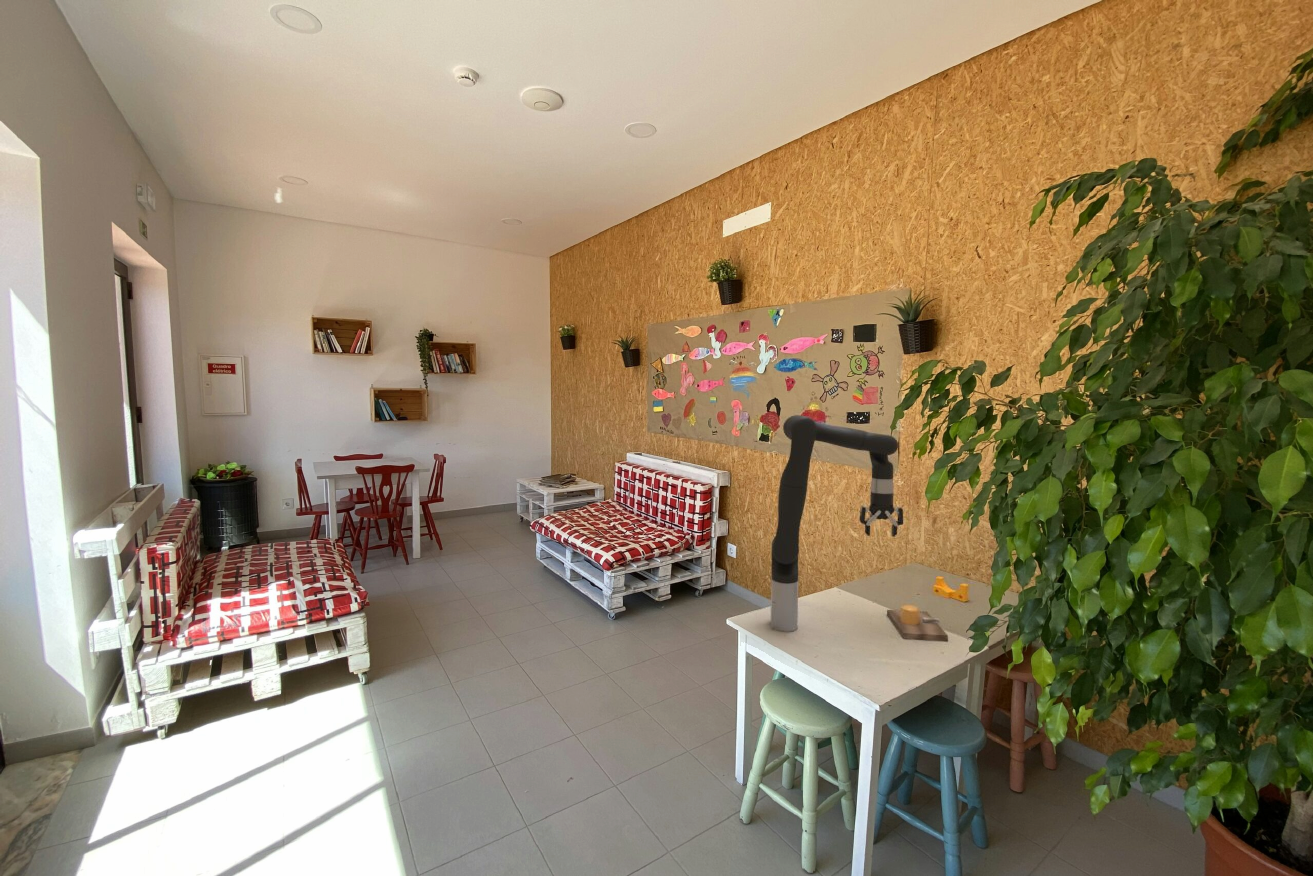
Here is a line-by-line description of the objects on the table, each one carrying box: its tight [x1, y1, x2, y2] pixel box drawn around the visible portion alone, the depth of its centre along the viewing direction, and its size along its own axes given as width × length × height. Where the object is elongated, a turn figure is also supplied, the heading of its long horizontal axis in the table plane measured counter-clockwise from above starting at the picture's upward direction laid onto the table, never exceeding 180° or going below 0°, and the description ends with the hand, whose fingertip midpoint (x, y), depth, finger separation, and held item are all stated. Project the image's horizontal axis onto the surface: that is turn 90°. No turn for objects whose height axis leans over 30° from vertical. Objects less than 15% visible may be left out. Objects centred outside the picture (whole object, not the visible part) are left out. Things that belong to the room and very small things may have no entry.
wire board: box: [886, 609, 949, 642], centre depth 190 cm, size 14×20×6 cm
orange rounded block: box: [900, 604, 920, 625], centre depth 190 cm, size 5×6×5 cm
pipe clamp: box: [932, 576, 969, 603], centre depth 218 cm, size 12×4×6 cm, turn 31°
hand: (880, 535), depth 191 cm, fingers open, 8 cm apart
